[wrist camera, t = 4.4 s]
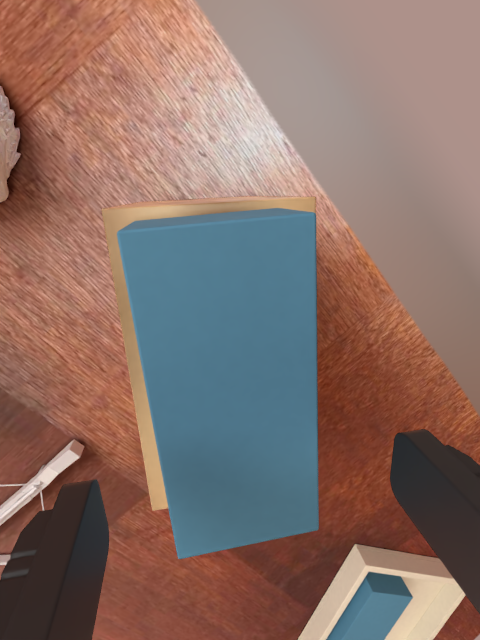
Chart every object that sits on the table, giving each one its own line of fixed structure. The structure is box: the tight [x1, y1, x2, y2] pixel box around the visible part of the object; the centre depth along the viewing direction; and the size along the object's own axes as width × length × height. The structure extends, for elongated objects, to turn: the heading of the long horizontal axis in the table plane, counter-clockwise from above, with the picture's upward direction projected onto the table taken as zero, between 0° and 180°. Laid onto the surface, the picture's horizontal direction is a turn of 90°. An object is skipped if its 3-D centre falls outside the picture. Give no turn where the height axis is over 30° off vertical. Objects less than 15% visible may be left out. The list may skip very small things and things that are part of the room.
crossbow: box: [0, 439, 84, 565], centre depth 31 cm, size 16×13×2 cm
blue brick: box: [326, 572, 413, 640], centre depth 42 cm, size 6×12×3 cm, turn 158°
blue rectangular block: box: [117, 208, 319, 559], centre depth 14 cm, size 6×12×4 cm, turn 5°
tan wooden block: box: [102, 196, 316, 511], centre depth 22 cm, size 8×14×14 cm, turn 3°
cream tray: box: [298, 544, 465, 640], centre depth 44 cm, size 16×17×3 cm
